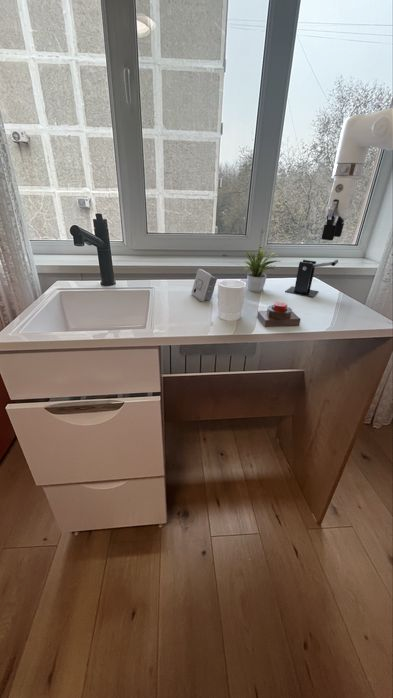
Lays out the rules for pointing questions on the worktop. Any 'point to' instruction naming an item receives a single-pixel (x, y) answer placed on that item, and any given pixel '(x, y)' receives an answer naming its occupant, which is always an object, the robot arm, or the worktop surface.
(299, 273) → the black upright stand
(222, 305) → the white cup
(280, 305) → the button
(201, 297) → the electrical switch
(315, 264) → the grey lever
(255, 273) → the house plant
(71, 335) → the worktop surface
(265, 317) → the button block
